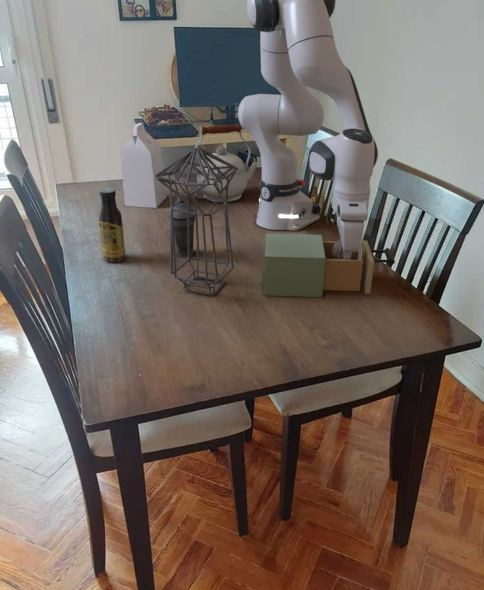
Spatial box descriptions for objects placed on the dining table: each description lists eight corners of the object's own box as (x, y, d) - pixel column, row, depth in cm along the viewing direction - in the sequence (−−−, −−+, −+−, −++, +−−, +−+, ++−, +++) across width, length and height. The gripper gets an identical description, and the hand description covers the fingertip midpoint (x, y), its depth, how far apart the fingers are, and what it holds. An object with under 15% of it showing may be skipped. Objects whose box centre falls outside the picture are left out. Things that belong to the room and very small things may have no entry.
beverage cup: (193, 260, 157) (188, 190, 145) (168, 257, 158) (162, 188, 147) (200, 250, 162) (197, 182, 151) (177, 247, 164) (172, 180, 153)
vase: (362, 268, 143) (366, 236, 138) (344, 275, 139) (347, 243, 134) (342, 259, 147) (345, 228, 142) (324, 266, 143) (327, 234, 138)
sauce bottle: (99, 261, 154) (87, 191, 143) (111, 252, 159) (101, 184, 148) (119, 265, 153) (109, 194, 142) (131, 256, 158) (122, 187, 147)
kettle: (202, 207, 193) (198, 133, 179) (187, 192, 207) (182, 121, 193) (267, 199, 201) (268, 128, 188) (248, 185, 215) (248, 117, 202)
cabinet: (318, 271, 152) (321, 234, 146) (322, 297, 140) (325, 257, 134) (265, 270, 152) (266, 233, 146) (264, 295, 140) (264, 256, 134)
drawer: (384, 271, 151) (389, 240, 146) (392, 294, 140) (398, 262, 135) (313, 269, 151) (316, 238, 146) (316, 292, 140) (319, 260, 135)
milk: (136, 195, 203) (127, 120, 188) (166, 197, 202) (160, 122, 187) (124, 205, 193) (114, 127, 178) (156, 208, 192) (149, 129, 177)
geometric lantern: (218, 306, 135) (213, 160, 115) (161, 294, 139) (147, 151, 120) (242, 279, 147) (242, 143, 128) (190, 269, 151) (181, 136, 132)
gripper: (334, 187, 142) (329, 238, 150) (341, 215, 125) (335, 270, 133) (358, 188, 142) (352, 238, 150) (368, 216, 125) (361, 271, 133)
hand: (344, 254), depth 141 cm, fingers closed on vase, 7 cm apart
